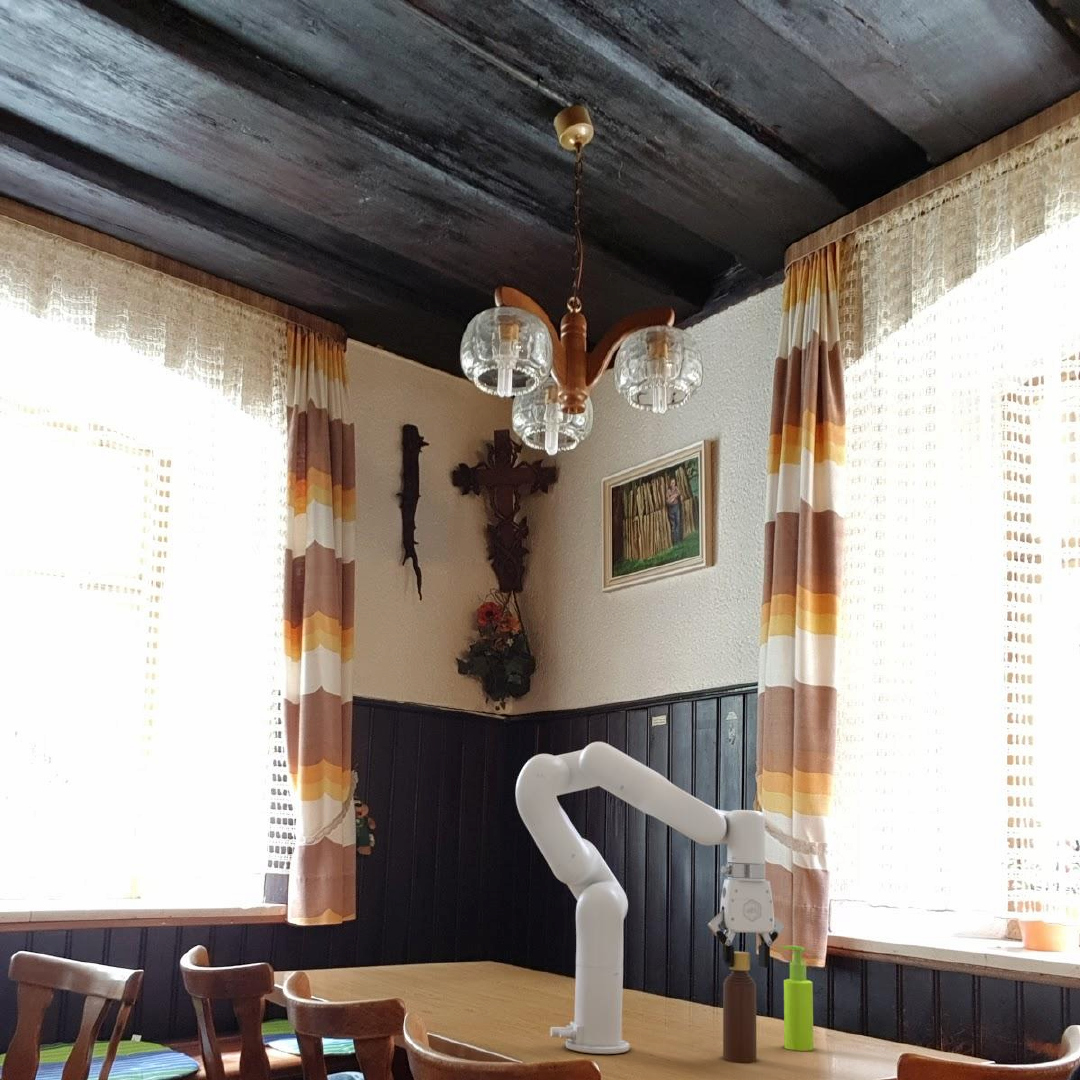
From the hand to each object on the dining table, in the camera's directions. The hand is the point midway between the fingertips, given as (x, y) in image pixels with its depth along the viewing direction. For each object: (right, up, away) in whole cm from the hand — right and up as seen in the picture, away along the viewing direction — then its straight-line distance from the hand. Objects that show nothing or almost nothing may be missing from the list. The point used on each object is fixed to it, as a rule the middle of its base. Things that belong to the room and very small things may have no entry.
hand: (746, 965), depth 233 cm
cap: (-1, -1, 0) cm, 2 cm away
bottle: (-2, -17, -4) cm, 17 cm away
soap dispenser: (+12, -21, +11) cm, 27 cm away
